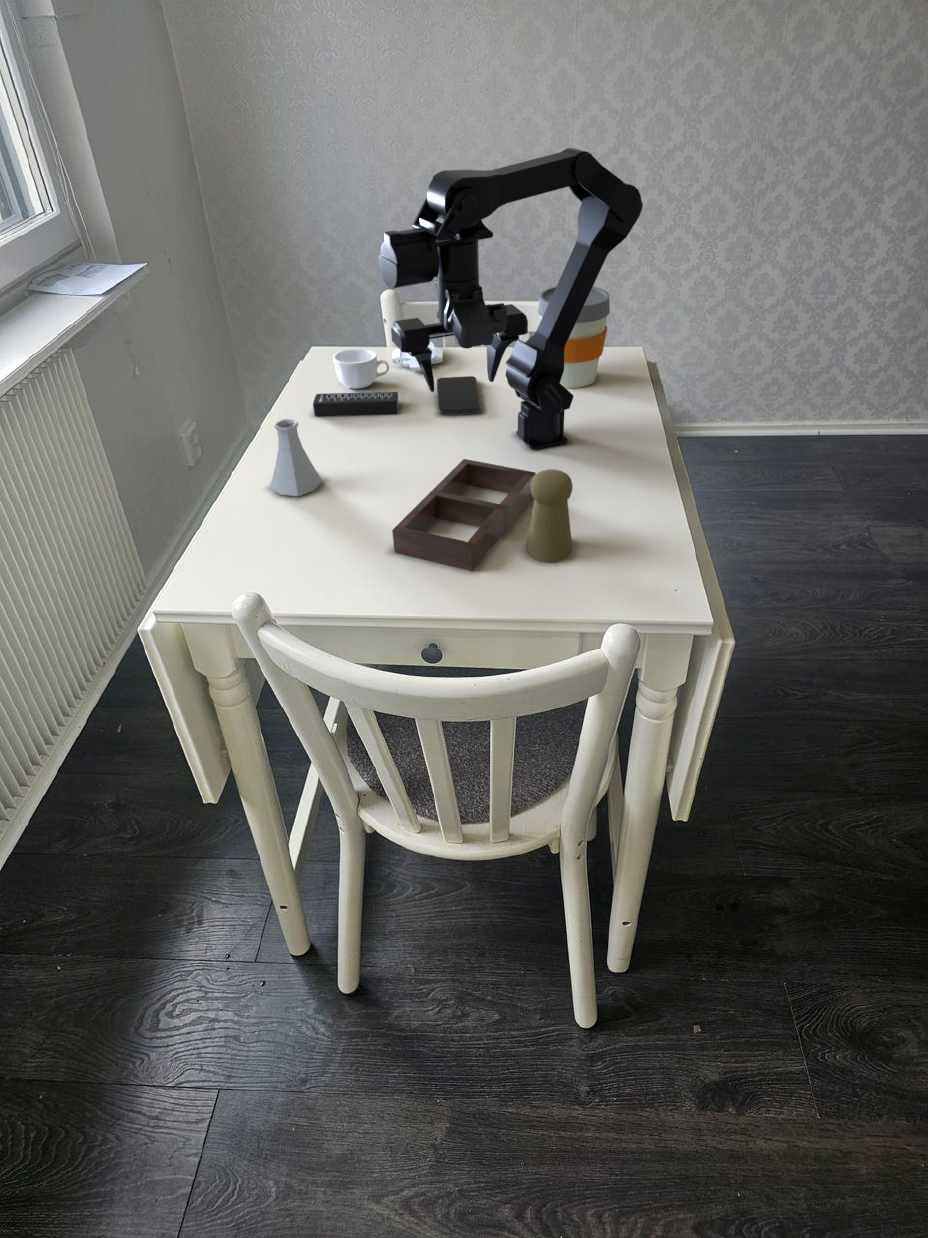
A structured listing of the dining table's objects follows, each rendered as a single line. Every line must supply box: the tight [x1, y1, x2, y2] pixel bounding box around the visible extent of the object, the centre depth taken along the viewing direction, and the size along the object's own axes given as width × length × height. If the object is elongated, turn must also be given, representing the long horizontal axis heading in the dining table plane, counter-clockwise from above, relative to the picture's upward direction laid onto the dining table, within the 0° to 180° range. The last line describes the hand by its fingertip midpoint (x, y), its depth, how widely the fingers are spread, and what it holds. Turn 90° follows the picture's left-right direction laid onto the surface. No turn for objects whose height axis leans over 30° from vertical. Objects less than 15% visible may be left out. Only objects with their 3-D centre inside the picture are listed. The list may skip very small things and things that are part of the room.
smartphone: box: [436, 375, 482, 416], centre depth 152 cm, size 7×1×15 cm
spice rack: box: [391, 458, 537, 572], centre depth 117 cm, size 22×11×4 cm, turn 155°
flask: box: [270, 418, 322, 497], centre depth 125 cm, size 7×7×10 cm
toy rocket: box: [391, 341, 444, 372], centre depth 167 cm, size 16×10×2 cm, turn 1°
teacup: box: [333, 348, 390, 390], centre depth 157 cm, size 10×8×5 cm
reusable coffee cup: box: [537, 286, 611, 389], centre depth 153 cm, size 12×13×15 cm
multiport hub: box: [312, 391, 400, 417], centre depth 148 cm, size 4×14×2 cm, turn 90°
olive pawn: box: [525, 468, 573, 564], centre depth 108 cm, size 6×6×11 cm
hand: (461, 386), depth 126 cm, fingers open, 9 cm apart
